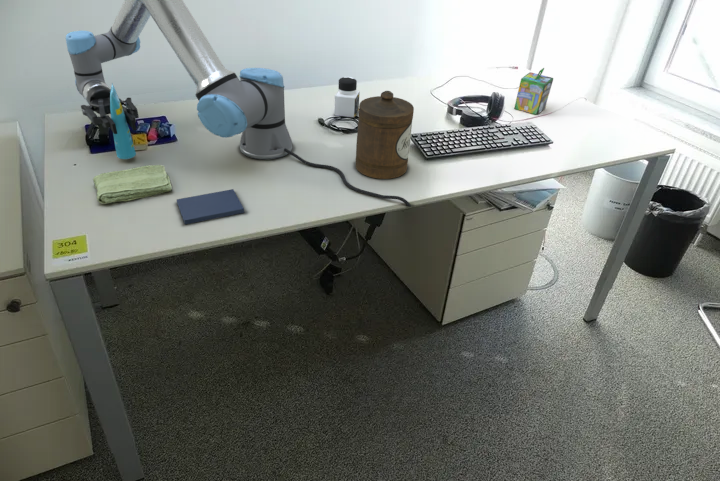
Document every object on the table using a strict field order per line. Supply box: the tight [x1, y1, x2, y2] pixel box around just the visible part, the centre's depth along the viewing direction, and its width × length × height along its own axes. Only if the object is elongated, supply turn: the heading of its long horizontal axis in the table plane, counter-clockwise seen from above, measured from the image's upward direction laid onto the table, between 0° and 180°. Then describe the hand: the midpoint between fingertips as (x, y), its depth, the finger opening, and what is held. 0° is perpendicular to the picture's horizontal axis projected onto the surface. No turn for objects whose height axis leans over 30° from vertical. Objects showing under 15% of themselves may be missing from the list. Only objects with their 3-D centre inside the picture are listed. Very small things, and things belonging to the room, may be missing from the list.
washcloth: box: [92, 164, 173, 205], centre depth 131 cm, size 13×18×3 cm
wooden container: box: [355, 90, 415, 180], centre depth 142 cm, size 15×15×22 cm
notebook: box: [175, 188, 245, 225], centre depth 126 cm, size 14×10×1 cm
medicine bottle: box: [333, 76, 360, 119], centre depth 176 cm, size 7×7×12 cm
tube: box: [110, 82, 137, 160], centre depth 138 cm, size 7×5×19 cm, turn 26°
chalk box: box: [513, 67, 554, 116], centre depth 187 cm, size 9×9×15 cm
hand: (124, 127), depth 134 cm, fingers closed on tube, 4 cm apart
